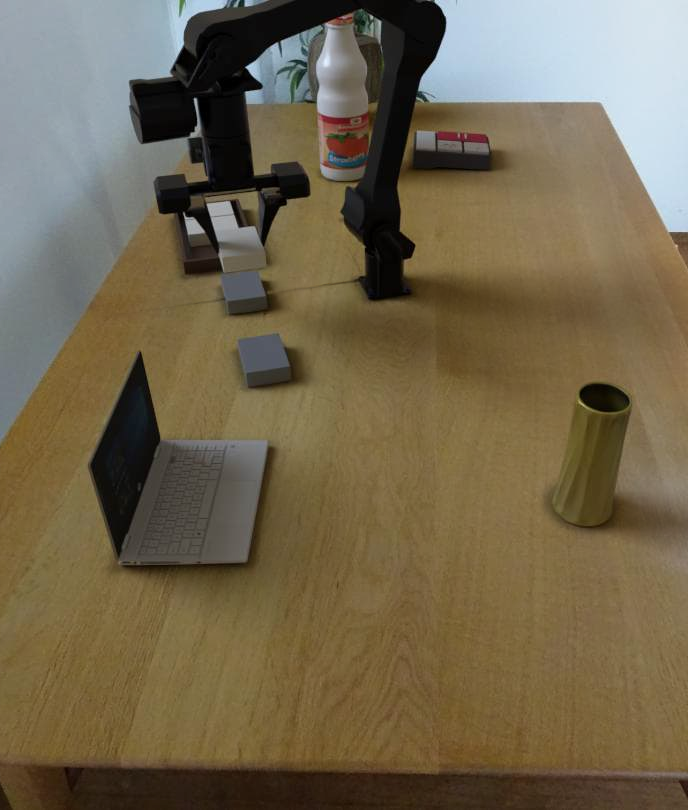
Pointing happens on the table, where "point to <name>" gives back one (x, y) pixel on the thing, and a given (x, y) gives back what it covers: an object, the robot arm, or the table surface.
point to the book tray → (204, 255)
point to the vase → (593, 453)
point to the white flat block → (240, 249)
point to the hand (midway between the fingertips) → (240, 249)
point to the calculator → (451, 150)
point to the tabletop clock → (369, 52)
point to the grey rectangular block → (243, 292)
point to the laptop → (172, 486)
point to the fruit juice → (342, 103)
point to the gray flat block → (264, 360)
